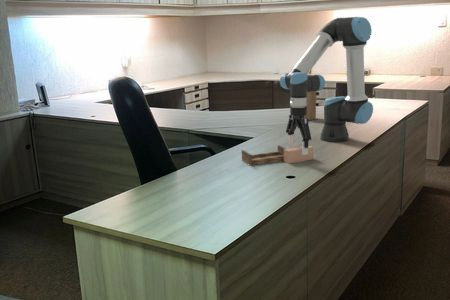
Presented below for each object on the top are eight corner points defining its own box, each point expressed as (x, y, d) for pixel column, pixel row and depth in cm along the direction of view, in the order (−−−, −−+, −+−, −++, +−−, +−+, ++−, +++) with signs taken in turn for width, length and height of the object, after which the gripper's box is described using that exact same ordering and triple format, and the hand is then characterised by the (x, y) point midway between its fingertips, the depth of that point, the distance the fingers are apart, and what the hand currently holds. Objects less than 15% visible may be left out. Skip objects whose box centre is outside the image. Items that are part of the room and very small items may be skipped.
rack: (279, 155, 240) (279, 145, 238) (288, 160, 231) (288, 149, 229) (241, 160, 233) (241, 150, 232) (250, 165, 224) (249, 155, 223)
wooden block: (316, 118, 328) (316, 88, 323) (310, 120, 320) (310, 90, 315) (302, 117, 333) (302, 88, 328) (296, 119, 325) (296, 90, 320)
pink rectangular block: (308, 157, 235) (308, 145, 233) (313, 159, 231) (313, 147, 230) (283, 161, 229) (283, 149, 227) (288, 163, 225) (288, 151, 224)
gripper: (279, 103, 234) (279, 146, 239) (304, 110, 211) (304, 158, 216) (293, 102, 236) (292, 144, 241) (319, 109, 214) (318, 156, 219)
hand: (298, 151), depth 229 cm, fingers open, 13 cm apart
